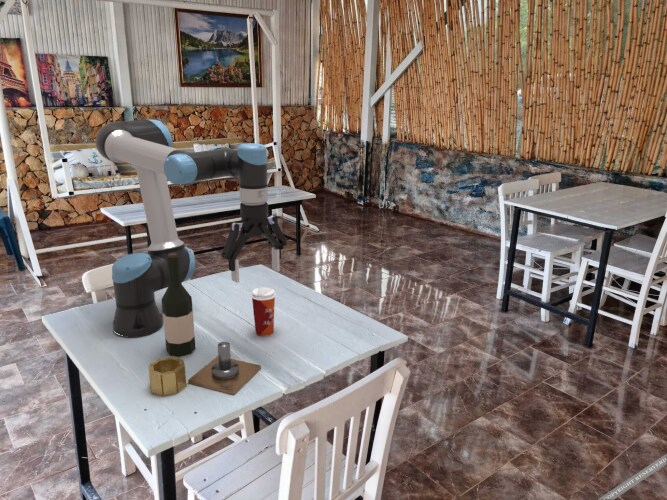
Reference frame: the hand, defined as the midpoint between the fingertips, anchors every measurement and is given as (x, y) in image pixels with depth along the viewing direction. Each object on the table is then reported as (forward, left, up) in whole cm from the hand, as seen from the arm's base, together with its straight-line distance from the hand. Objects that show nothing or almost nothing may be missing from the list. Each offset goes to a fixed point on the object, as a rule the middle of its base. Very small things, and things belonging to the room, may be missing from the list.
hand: (256, 275), depth 149 cm
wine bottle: (-21, -9, -24) cm, 33 cm away
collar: (-12, -26, -24) cm, 37 cm away
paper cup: (-4, +11, -24) cm, 27 cm away
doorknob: (-1, -16, -24) cm, 29 cm away
